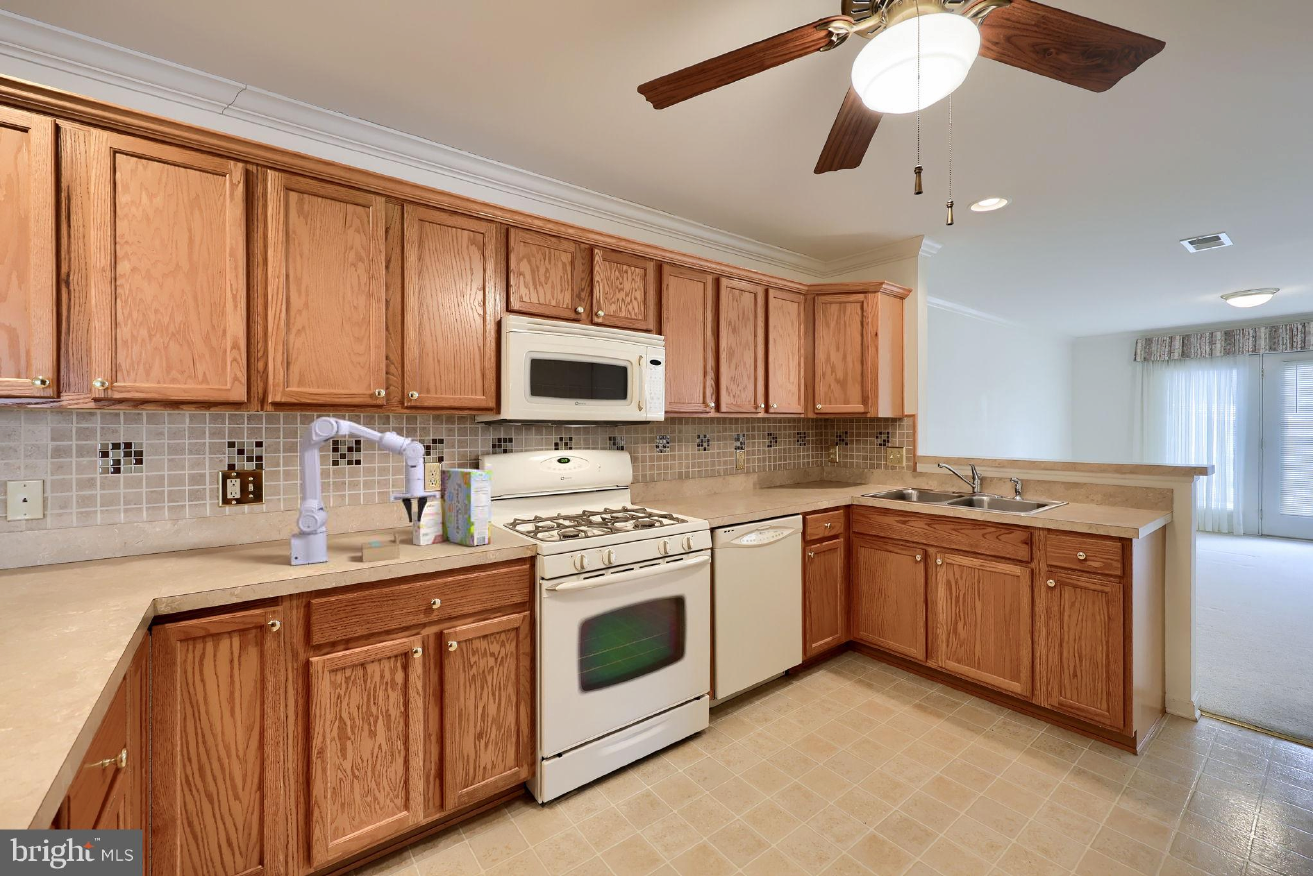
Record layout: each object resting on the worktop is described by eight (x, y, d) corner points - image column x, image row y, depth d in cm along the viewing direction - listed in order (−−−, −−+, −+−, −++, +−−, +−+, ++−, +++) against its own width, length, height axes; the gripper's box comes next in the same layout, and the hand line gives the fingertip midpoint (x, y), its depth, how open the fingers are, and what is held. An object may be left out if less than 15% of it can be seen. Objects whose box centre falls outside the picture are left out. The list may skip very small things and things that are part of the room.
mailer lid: (362, 549, 168) (362, 540, 168) (361, 544, 175) (361, 535, 175) (399, 545, 173) (399, 536, 173) (396, 540, 180) (396, 532, 180)
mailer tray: (363, 562, 168) (362, 549, 168) (361, 557, 175) (361, 544, 175) (399, 558, 173) (399, 545, 173) (396, 553, 180) (396, 541, 180)
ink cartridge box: (435, 540, 201) (434, 499, 201) (442, 542, 198) (442, 500, 198) (412, 544, 194) (411, 502, 194) (420, 546, 191) (419, 503, 191)
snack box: (493, 544, 195) (492, 470, 194) (470, 548, 188) (469, 471, 188) (461, 536, 209) (460, 467, 209) (438, 539, 203) (438, 468, 202)
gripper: (390, 481, 172) (391, 525, 172) (440, 479, 179) (441, 521, 179) (388, 479, 178) (389, 522, 178) (436, 477, 185) (437, 518, 185)
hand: (414, 521), depth 179 cm, fingers closed
